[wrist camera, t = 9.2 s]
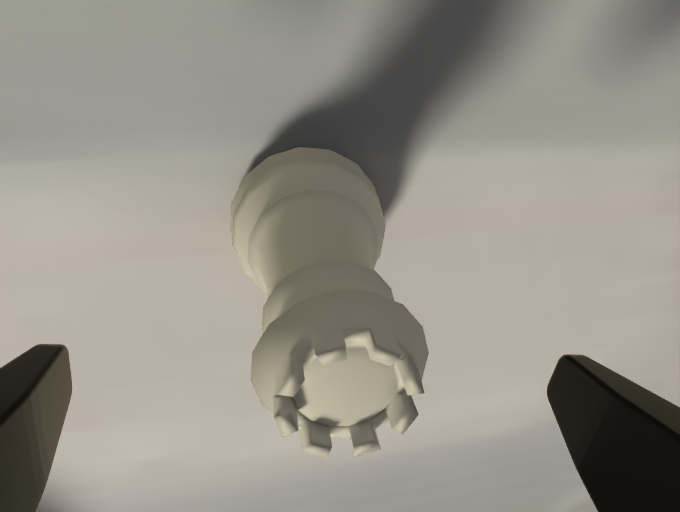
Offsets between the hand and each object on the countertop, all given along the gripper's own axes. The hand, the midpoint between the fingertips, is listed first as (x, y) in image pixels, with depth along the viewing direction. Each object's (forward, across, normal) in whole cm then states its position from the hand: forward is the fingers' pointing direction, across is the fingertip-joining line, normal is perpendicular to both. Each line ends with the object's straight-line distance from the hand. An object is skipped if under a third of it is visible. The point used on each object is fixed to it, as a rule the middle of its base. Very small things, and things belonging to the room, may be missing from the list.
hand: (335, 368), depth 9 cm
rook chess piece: (+7, 0, 0) cm, 7 cm away
